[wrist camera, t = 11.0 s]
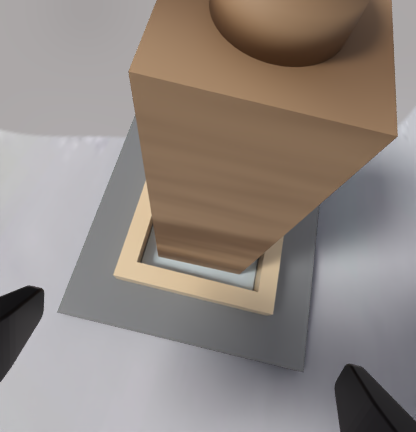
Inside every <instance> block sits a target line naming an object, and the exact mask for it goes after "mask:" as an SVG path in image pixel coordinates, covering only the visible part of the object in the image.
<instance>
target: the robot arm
mask: <svg viewBox="0 0 416 432" xmlns="http://www.w3.org/2000/svg"><path fill="white" fill-rule="evenodd" d="M43 311H44V290H43V289H42V288H39V287H35V286H30V285H29V286H25V287H23V288H20V289H18V290H15V291H13V292H10V293H8V294H5V295H3V296H1V297H0V382H1V381H2V379H3V378H4V377H5V375H6V374H7V373H8V371H9V370H10V368H11V367H12V365H13V364H14V362H15V361H16V359H17V357H18V356H19V354H20V352H21V351H22V349H23V347H24V346H25V344H26V342H27V341H28V339H29V338H30V336H31V334H32V333H33V331H34V329H35V328H36V326H37V324H38V323H39V321H40V319H41V317H42V315H43ZM335 397H336V404H337V411H338V418H339V425H340V432H416V421H415V420H414V419H413V418H412V417H411V416H410V415H409V414H408V413H407V412H406V411H405V410H404V409H403V408H402V407H401V406H400V405H399V404H398V403H397V402H396V401H395V400H394V399H393V398H392V397H391V396H390V395H389V394H388V393H387V392H386V391H385V390H384V389H383V388H382V386H381V385H380V384H379V383H378V382H377V381H376V380H375V379H374V378H373V377H372V376H371V375H370V374H369V373H368V372H367V371H366V370H365V369H364V368H363V367H361V366H357V365H353V364H347V365H345V367H344V369H343V370H342V372H341V374H340V376H339V377H338V379H337V381H336V383H335Z"/></svg>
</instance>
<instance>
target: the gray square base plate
mask: <svg viewBox="0 0 416 432" xmlns="http://www.w3.org/2000/svg"><path fill="white" fill-rule="evenodd" d="M318 212H319V205H318V206H317V207H316V208H315V209H314V210H313V211H312V212H310V213H309V214H308V215H307V216H306V217H305V218H304V219H302V220H301V221H300V222H299V223H298V224H297V225H296V226H294V227H293V228H292V229H291V230H290V231H289V232H287V233H286V234H285V235H284V236H283V237H282V238H281V239H279V240H278V241H277V242H276V243H275V244H274V245H273V246H271V247H270V248H269V249H268V250H267V251H266V252H265V253H263V254H262V255H261V256H260V257H259V258H258V259H257V260H255V261H254V262H253V263H252V264H251V265H250V266H249V267H247V268H246V269H245V270H244V271H243V272H242V273H240V274H234V273H230V272H225V271H221V270H216V269H212V268H207V267H203V266H198V265H194V264H189V263H185V262H180V261H176V260H171V259H167V258H162V257H158V251H157V245H156V239H155V233H154V227H153V220H152V214H151V208H150V202H149V196H148V189H147V183H146V177H145V171H144V165H143V158H142V152H141V146H140V140H139V134H138V127H137V121H136V115H135V117H134V120H133V122H132V125H131V127H130V130H129V132H128V135H127V137H126V140H125V142H124V145H123V147H122V150H121V152H120V155H119V157H118V160H117V162H116V165H115V167H114V170H113V173H112V175H111V178H110V180H109V183H108V185H107V188H106V190H105V193H104V195H103V198H102V200H101V203H100V205H99V208H98V210H97V213H96V215H95V218H94V221H93V223H92V226H91V228H90V231H89V233H88V236H87V238H86V241H85V243H84V246H83V248H82V251H81V253H80V256H79V258H78V261H77V263H76V266H75V268H74V271H73V274H72V276H71V279H70V281H69V284H68V286H67V289H66V291H65V294H64V296H63V299H62V301H61V304H60V306H59V309H58V311H57V312H58V313H62V314H66V315H70V316H74V317H78V318H82V319H86V320H91V321H95V322H99V323H103V324H107V325H111V326H115V327H119V328H123V329H128V330H132V331H136V332H140V333H144V334H148V335H152V336H156V337H160V338H164V339H169V340H173V341H177V342H181V343H185V344H189V345H193V346H197V347H201V348H206V349H210V350H214V351H218V352H222V353H226V354H230V355H234V356H238V357H243V358H247V359H251V360H255V361H259V362H263V363H267V364H271V365H275V366H279V367H284V368H288V369H292V370H296V371H300V372H303V370H304V359H305V349H306V338H307V328H308V317H309V307H310V296H311V286H312V275H313V265H314V254H315V244H316V233H317V223H318Z"/></svg>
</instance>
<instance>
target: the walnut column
mask: <svg viewBox="0 0 416 432" xmlns="http://www.w3.org/2000/svg"><path fill="white" fill-rule="evenodd" d="M129 78H130V83H131V90H132V96H133V102H134V108H135V115H136V121H137V127H138V134H139V140H140V146H141V152H142V158H143V165H144V171H145V177H146V183H147V189H148V196H149V202H150V208H151V214H152V220H153V227H154V233H155V239H156V245H157V251H158V257H162V258H167V259H171V260H176V261H180V262H185V263H189V264H194V265H198V266H203V267H207V268H212V269H216V270H221V271H225V272H230V273H234V274H240V273H242V272H243V271H244V270H245V269H246V268H247V267H249V266H250V265H251V264H252V263H253V262H254V261H255V260H257V259H258V258H259V257H260V256H261V255H262V254H263V253H265V252H266V251H267V250H268V249H269V248H270V247H271V246H273V245H274V244H275V243H276V242H277V241H278V240H279V239H281V238H282V237H283V236H284V235H285V234H286V233H287V232H289V231H290V230H291V229H292V228H293V227H294V226H296V225H297V224H298V223H299V222H300V221H301V220H302V219H304V218H305V217H306V216H307V215H308V214H309V213H310V212H312V211H313V210H314V209H315V208H316V207H317V206H318V205H320V204H321V203H322V202H323V201H324V200H325V199H326V198H328V197H329V196H330V195H331V194H332V193H333V192H334V191H336V190H337V189H338V188H339V187H340V186H341V185H343V184H344V183H345V182H346V181H347V180H348V179H349V178H351V177H352V176H353V175H354V174H355V173H356V172H357V171H359V170H360V169H361V168H362V167H363V166H364V165H365V164H367V163H368V162H369V161H370V160H371V159H372V158H373V157H375V156H376V155H377V154H378V153H379V152H380V151H381V150H383V149H384V148H385V147H386V146H387V145H388V144H390V143H391V142H392V141H393V140H394V139H395V138H396V137H398V134H397V114H396V113H397V112H396V89H395V66H394V44H393V23H392V1H391V0H157V1H156V4H155V6H154V9H153V11H152V14H151V16H150V19H149V21H148V24H147V26H146V29H145V31H144V34H143V36H142V39H141V41H140V44H139V46H138V49H137V51H136V54H135V56H134V59H133V61H132V64H131V66H130V69H129Z"/></svg>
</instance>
